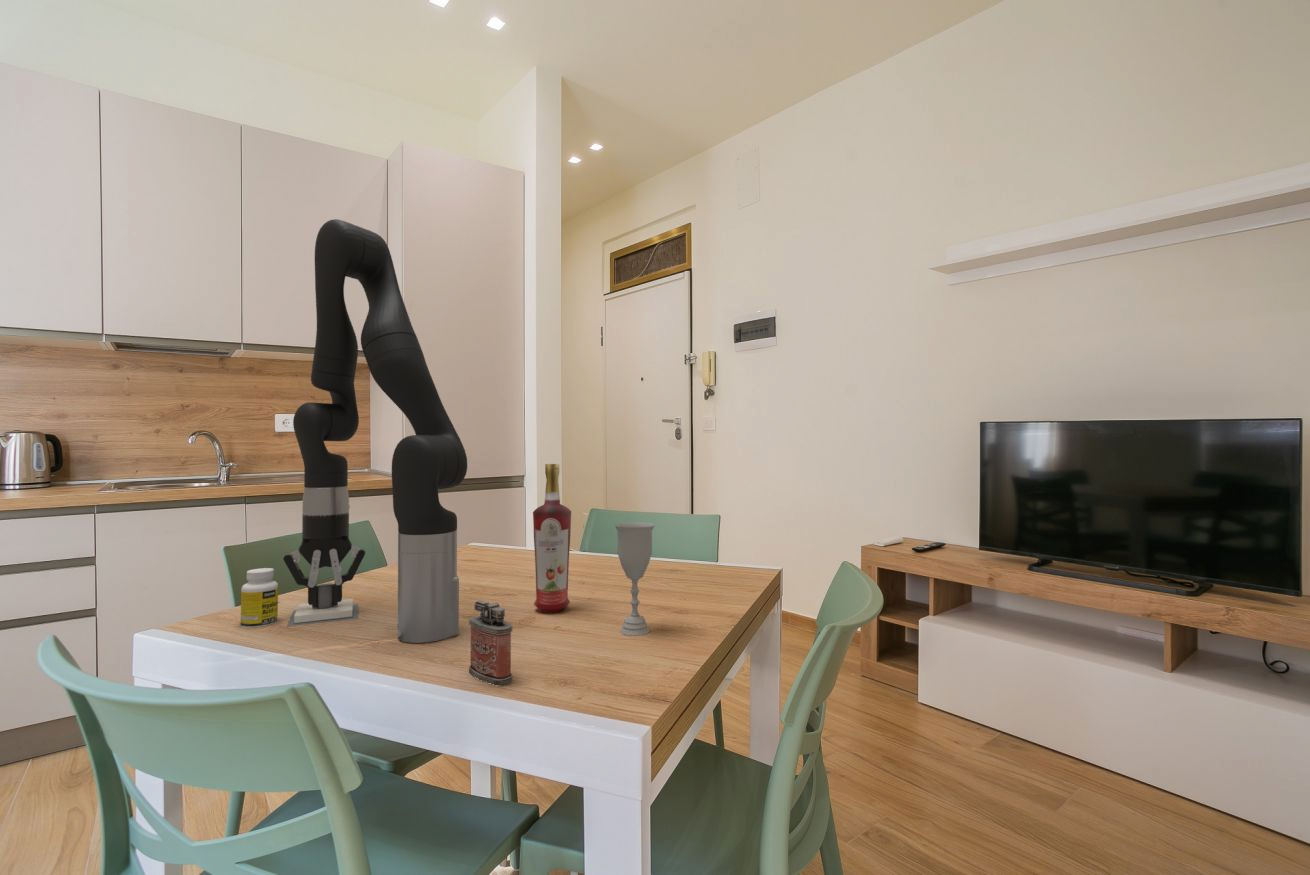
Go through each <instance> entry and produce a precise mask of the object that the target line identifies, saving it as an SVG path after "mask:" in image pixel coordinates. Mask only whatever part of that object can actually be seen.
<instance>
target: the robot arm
mask: <svg viewBox="0 0 1310 875" xmlns="http://www.w3.org/2000/svg"><path fill="white" fill-rule="evenodd" d="M346 277H347V278H351V279H355V280H357V281H358V282H359V283H360V285H361V286H362V288H363V291H364V294H365V296H366V297H365V298H366V299H367V302H368V312H367V315H366V318H365V321H364V324H363V325H362V326H363V327H362V329H361V333H360V345H361V350H362V353H363V355H364V358H365V361H366V363H367V364H366V365H367V366H368V369H369V373H370V374H371V377H372V378H373V380H374V382H375V383H376V385H378V387H379V388H380V389H381V391H382V392H384V393H385V396H387V397H388V398H389V399H390V400H391V401H392V403H393V404H394V405H396V406H397V408H398V409H399V410H400V411H401V412H402V413H403V415H404V416H405V417H406V419H407V420H408V422H409V423H410V424H411V425H410V426H411V427H412V429H413V431H414V433H415V435H414V434H412V435H407V436H405V437H404V438H402V439H401V440H400V441H399V442H398V443H397V444H396V446H395V448H394V450H393V454H392V460H391V485H392V486H391V487H392V507H393V513H394V517H395V519H396V522H397V531H398V532H397V538H398V539H397V626H396V628H397V639H398V640H399V641H401V642H405V643H415V644H416V643H417V644H419V643H429V642H431V643H432V642H437V641H440V640H441V641H442V640H445V639H449V638H452V637H455V636H459V634H460V631H459V630H460V624H459V623H460V577H459V576H458V573H457V572H458V517H457V514H456V513H455V512H454V511H451V510H450V509H449V510H448V509H446V508H445V507H444V506H443V505H442V504H441V502H440V499H439V490H445V489H452V488H454V487H457V486H459V485H460V484H461V483H462V482H463V481H464V480H465V477H466V475H467V472H468V458H467V457H468V456H467V453H466V449H465V448H464V445H463V442H462V441H461V438H460V436H459V435H458V432H457V430H456V428H455V426H454V425H453V423H452V420H451V418H450V416H449V415H448V413H447V410H446V408H445V407H444V405H443V402H442V400H441V398H440V394H439V392H438V390H437V387H436V384H435V382H434V380H433V377H432V375H431V373H430V370H429V368H428V364H427V362H426V357H425V355H424V352H423V349H422V346H421V345H420V342H419V339H418V337H417V334H416V332H415V329H414V327H413V325H412V322H411V320H410V316H409V313H408V311H407V307H406V305H405V301H404V298H403V296H402V293H401V290H400V285H399V283H398V282H399V281H398V277H397V274H396V270H395V265H394V261H393V258H392V254H391V251H390V249H389V246H388V244H387V242H386V241H385V239H384V238H383V237H382V236H381V235H379V234H378V233H376V232H374V231H372V230H369V229H366V228H364V227H362V226H358V225H356V224H353V223H351V222H348V221H345V220H341V219H338V218H337V219H336V218H335V219H330V220H327V221H326V222H325V223H323V225H322V226H321V227H320V228H319V230H318V233H317V236H316V240H315V245H314V279H315V280H314V285H315V286H314V287H315V291H314V292H315V307H316V333H315V334H316V335H315V346H314V352H313V358H312V359H313V360H312V365H311V366H312V367H311V374H310V382H311V385H313V387H315V388H316V389H319V390H322V391H326V392H328V393H329V394H330V397H331V402H332V403H329V402H328V403H327V402H310V401H309V402H304V403H302V404H301V405H299V407H298V408H297V409H296V410H295V413H294V415H293V421H292V422H293V423H292V426H293V430H294V434H295V438H296V441H297V443H298V448H299V450H300V455H301V458H302V462H303V467H304V476H303V477H304V482H303V485H304V487H303V493H302V494H303V496H302V507H301V509H302V518H301V519H302V520H301V523H302V525H301V526H302V529H301V532H302V534H301V536H302V537H301V538H302V539H301V540H302V541H301V544H300V545H299V547H298V549H296V550H294V551H292V552H287V553H286V554H285V555H284V556H283V561H284V563H285V565H286V567H287V569H288V570H289V572H290V574H291V576H292V577H293V578H292V579H294V581H295V583H296V585H297V586H304V587H306V588H307V603H308V604H309V605H312V608H317V585H318V584H317V581H318V576H319V570H320V569H321V568H324V567H326V568H331V569H332V575H333V578H334V579H333V580H334V583H333V584H334V586H333V606H337V605H338V602H341V600H343V584H344V583H346V582H350V581H352V580H353V578H354V577H355V575H356V574H357V571H358V569H359V567H360V566H361V563H362V560H363V559H364V557H365V556H366V549H365V548H363V547H356V546H354V545H352V542H351V541H350V506H351V505H350V497H349V496H350V494H349V489H348V482H349V481H348V474H349V473H348V469H349V466H348V460H347V458H346V457H345V456H344V455H341V454H336V453H331V452H330V451H329V450H328V449H327V447H326V444H325V442H346V441H349V440H351V438H353V437H354V436H355V434H356V433H357V430H358V427H359V424H360V423H359V422H360V418H359V411H358V405H357V404H358V403H357V397H356V396H357V395H356V389H355V378H356V372H357V365H358V364H357V363H358V359H359V358H358V357H359V345H358V340H357V339H358V338H357V336H356V332H355V329H354V326H353V324H352V321H351V319H350V315H349V313H348V309H347V304H346V301H345V293H344V292H345V291H344V290H345V283H346V282H345V280H346ZM349 552H350V553H351V559H352V562H351V564H350V566H349V568H348V570H347V572H346V573H344V574H343V572H342V566H341V562H343V560H344V559H345V557H346V556H347V555H348V553H349ZM300 556H302V557H303V558H304V559H305V561H306V562H307V563H308V564H309V565H310V570H309V576H308V577H307V576H305V575H304V573H303V571H302V569H301V568H300V566H299V564H298V563H299V562H300V560H301V559H300Z"/></svg>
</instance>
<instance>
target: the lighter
mask: <svg viewBox="0 0 1310 875" xmlns="http://www.w3.org/2000/svg"><path fill="white" fill-rule="evenodd" d="M474 611H476V612H479V613H480V615H474V616H471V617H469V620H468V621H469V622H468V625H470V664H469V665H468V673H470V674H471V675H470V674H469V675H470V676H472V677H473V676H474V677H476V678H478V679H479V680H482V681H484V682H487V683H491V684H494V685H504V686H507V685H506V684H508V685H510V684H511V683H512V682H513V673H511V671H512V670H511V669H512V668H511V667H512V666H511V665H512V663H511V661H512V660H511V659H512V658H511V656H512V651H511V650H512V645H511V644H512V638H511V637H512V635H511V634H512V632H513V624H512V623H510V622H509V621H507V620H505V617H506V616H505V615H506V614H505V613H506V611H505V608H503V607H500V604H499V603H498V602H492V603H489V602H487V601H485V600H480V599H478V600H476V601H475V602H474ZM474 677H473V678H474ZM476 678H475V679H476ZM478 679H477V680H478ZM479 680H478V681H479ZM482 681H481V682H482ZM484 682H483V683H484ZM487 683H486V684H487ZM509 683H510V684H509ZM491 684H490V685H491ZM494 685H493V686H494Z"/></svg>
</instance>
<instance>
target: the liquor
mask: <svg viewBox="0 0 1310 875" xmlns="http://www.w3.org/2000/svg"><path fill="white" fill-rule="evenodd" d="M544 465H545V467H544V468H545V478H546V479H545V480H546V483H545V491H544V492H545V493H544V504H542V505H540V506H537V508H535V509H534V510H533V511H532V522H533V524H532V525H533V543H534V544H533V546H534V563H535V564H534V565H535V594H536V595H535V598H536V599H535V601H534V602H533V605H534V606H535V607H536V608H537V609H538V610H539V612H541V613H544V614H545V613H547V614H553V613H560V612H563V611H564V610H565V608H567V607H568V606H569V604H570V603H571V601H570V599H569V596H568V594H569V566H570V564H569V563H570V562H569V561H570V550H571V549H570V548H571V547H570V546H571V532H572V531H571V530H572V527H571V526H572V511H571V509H570V508H569V507H567V506H565V505H563V504H561V497H560V488H559V487H560V484H559V479H560V478H559V475H560V464H559V463H546V464H544Z"/></svg>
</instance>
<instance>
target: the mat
mask: <svg viewBox="0 0 1310 875" xmlns="http://www.w3.org/2000/svg"><path fill="white" fill-rule="evenodd" d="M359 608H360V604H359V603H353V613H352V617H345V618H336V619H328V620H319V621H310V622H301V623H294V615H295V613H296V611H297V609H294V610H292V612H291V615H290V617H289V620H288V622H287V624H286V627H287V628H288V627H296V626H305V625H313V624H322V623H330V622H338V621H339V622H340V621H341V622H342V621H347V620H358V619H359Z"/></svg>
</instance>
